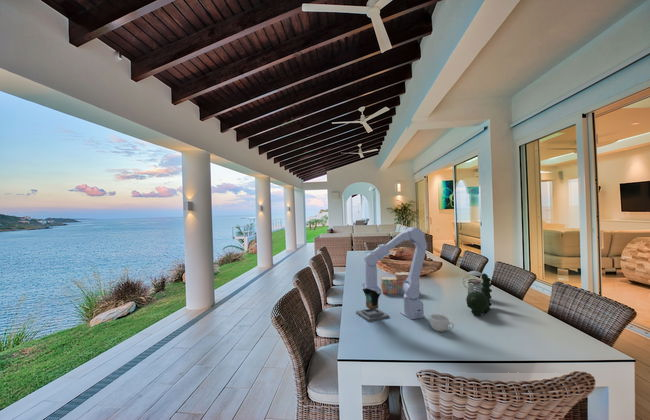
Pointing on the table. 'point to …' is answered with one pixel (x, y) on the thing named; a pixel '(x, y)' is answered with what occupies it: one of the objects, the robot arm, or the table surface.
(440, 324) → the teacup
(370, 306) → the block stack
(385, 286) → the stack of blocks
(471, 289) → the french press
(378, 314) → the plate
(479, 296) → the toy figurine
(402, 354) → the table surface
